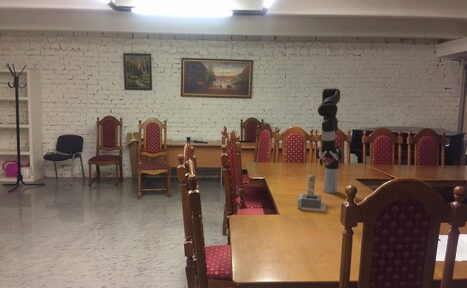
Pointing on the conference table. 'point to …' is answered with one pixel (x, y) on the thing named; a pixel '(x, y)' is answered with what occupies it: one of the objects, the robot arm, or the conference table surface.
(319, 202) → the dowel dock
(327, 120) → the robot arm
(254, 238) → the conference table surface
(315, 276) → the conference table surface
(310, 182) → the dowel
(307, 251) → the conference table surface
